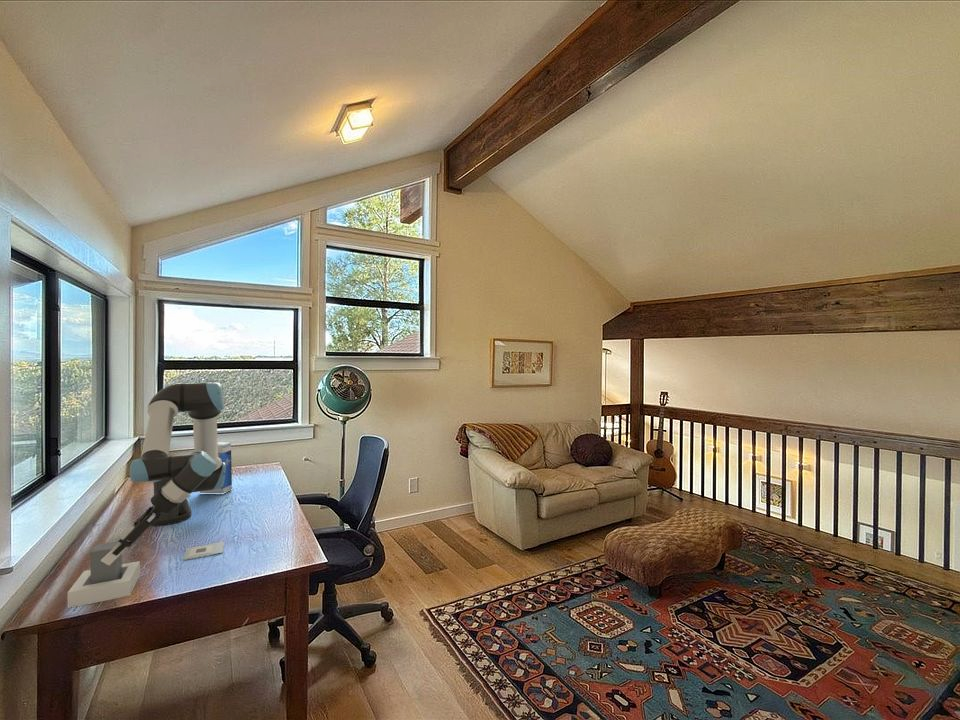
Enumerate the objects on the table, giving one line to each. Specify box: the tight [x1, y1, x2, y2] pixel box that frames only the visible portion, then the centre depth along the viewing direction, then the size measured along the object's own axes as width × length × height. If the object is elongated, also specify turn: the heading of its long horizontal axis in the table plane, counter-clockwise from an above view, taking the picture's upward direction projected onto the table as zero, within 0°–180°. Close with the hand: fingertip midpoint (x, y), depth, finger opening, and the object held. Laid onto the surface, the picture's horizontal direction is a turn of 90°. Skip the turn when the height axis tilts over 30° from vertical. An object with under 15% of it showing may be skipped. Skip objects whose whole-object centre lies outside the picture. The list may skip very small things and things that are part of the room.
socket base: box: [67, 560, 141, 609], centre depth 133 cm, size 14×14×4 cm
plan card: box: [182, 541, 225, 561], centre depth 160 cm, size 10×12×1 cm
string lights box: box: [199, 441, 233, 494], centre depth 227 cm, size 13×8×26 cm, turn 84°
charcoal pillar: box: [89, 540, 123, 584], centre depth 133 cm, size 6×6×12 cm
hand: (111, 553), depth 133 cm, fingers open, 13 cm apart
